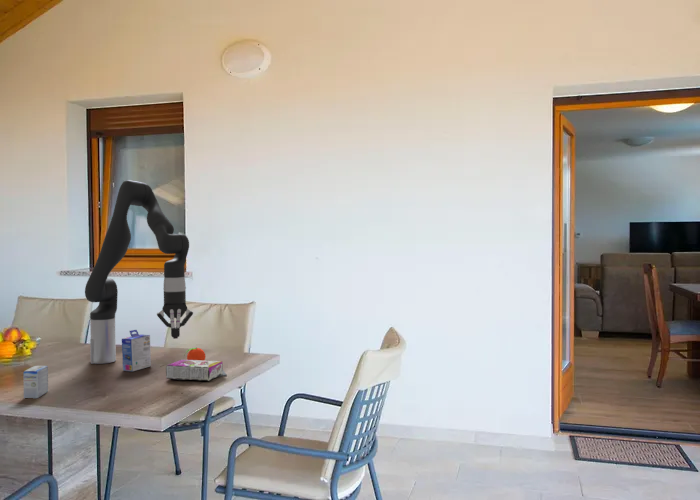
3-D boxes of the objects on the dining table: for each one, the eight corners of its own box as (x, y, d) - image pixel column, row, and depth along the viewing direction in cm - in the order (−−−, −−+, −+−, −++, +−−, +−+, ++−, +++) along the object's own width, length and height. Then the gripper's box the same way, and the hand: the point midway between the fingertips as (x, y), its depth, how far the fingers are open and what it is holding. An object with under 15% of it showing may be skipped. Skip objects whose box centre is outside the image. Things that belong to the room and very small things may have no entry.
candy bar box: (181, 358, 222) (223, 360, 218) (181, 372, 222) (223, 374, 218) (165, 364, 211) (209, 367, 207) (165, 378, 211) (209, 381, 208)
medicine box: (34, 392, 197) (33, 365, 197) (48, 391, 197) (48, 365, 197) (23, 398, 189) (22, 371, 189) (38, 398, 189) (37, 370, 189)
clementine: (186, 369, 229) (186, 350, 229) (182, 365, 235) (182, 347, 235) (207, 366, 233) (207, 348, 233) (203, 363, 239) (202, 345, 239)
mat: (177, 380, 212) (177, 378, 212) (173, 371, 225) (173, 370, 225) (226, 375, 218) (226, 374, 218) (220, 367, 231) (220, 366, 231)
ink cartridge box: (140, 365, 236) (140, 328, 236) (151, 366, 234) (151, 328, 233) (121, 370, 227) (120, 331, 227) (132, 372, 225) (132, 332, 224)
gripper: (192, 288, 223) (193, 335, 223) (154, 289, 218) (155, 337, 219) (194, 290, 216) (195, 338, 216) (155, 291, 211) (156, 341, 212)
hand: (175, 338), depth 218 cm, fingers closed
